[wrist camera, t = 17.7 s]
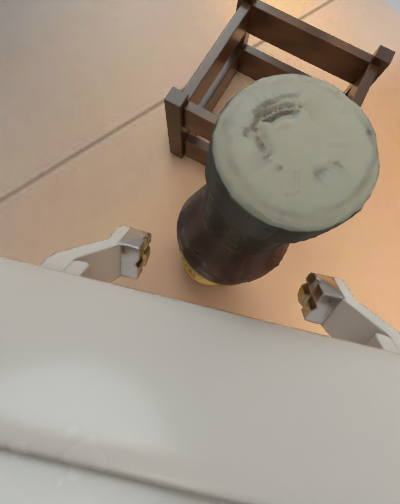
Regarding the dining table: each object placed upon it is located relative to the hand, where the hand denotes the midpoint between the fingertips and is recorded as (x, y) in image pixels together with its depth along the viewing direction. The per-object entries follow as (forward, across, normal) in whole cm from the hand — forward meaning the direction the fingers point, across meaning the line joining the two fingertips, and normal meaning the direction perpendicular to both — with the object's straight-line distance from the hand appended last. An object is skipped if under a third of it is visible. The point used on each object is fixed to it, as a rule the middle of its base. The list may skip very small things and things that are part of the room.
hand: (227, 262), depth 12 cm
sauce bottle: (+11, 0, +8) cm, 13 cm away
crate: (+23, -2, -4) cm, 23 cm away
